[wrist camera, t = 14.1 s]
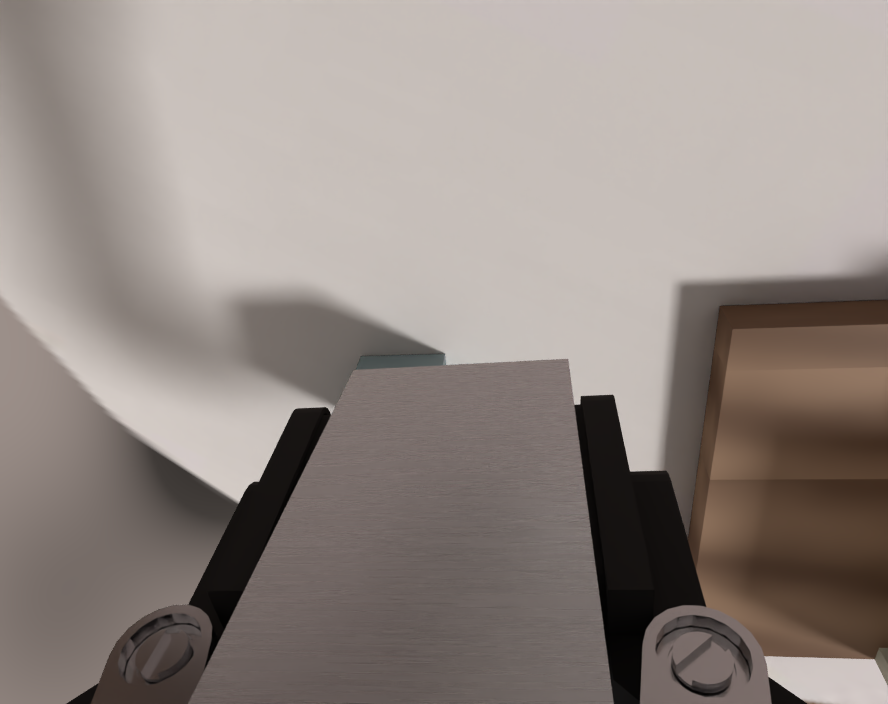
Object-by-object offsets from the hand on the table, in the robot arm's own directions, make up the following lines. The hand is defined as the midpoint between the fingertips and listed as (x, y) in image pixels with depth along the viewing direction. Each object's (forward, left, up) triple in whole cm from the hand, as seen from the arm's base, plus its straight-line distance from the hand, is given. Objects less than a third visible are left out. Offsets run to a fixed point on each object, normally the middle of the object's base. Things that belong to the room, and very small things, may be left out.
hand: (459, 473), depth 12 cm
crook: (+9, +3, 0) cm, 9 cm away
